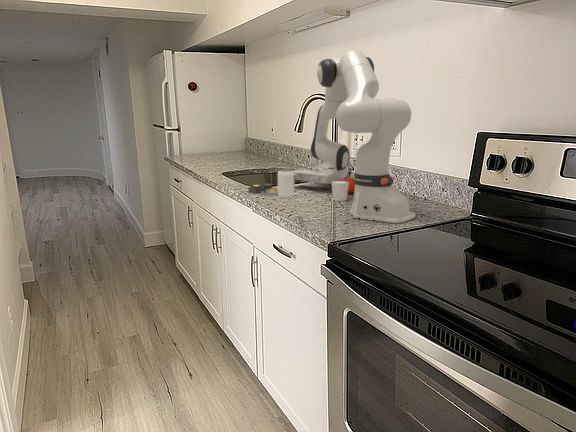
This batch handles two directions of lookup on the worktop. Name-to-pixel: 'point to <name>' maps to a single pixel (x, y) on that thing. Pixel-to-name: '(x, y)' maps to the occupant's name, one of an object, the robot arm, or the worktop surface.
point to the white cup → (339, 190)
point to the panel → (261, 190)
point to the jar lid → (272, 191)
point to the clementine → (350, 184)
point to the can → (285, 183)
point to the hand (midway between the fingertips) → (300, 178)
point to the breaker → (256, 186)
